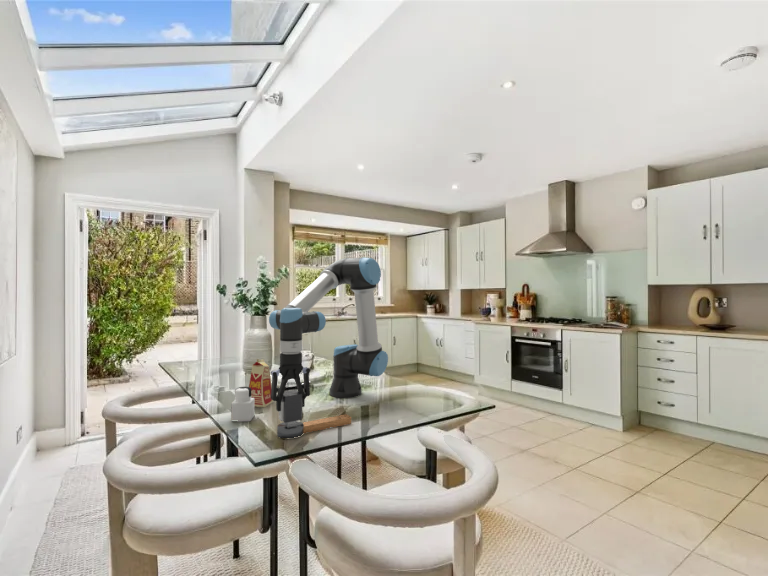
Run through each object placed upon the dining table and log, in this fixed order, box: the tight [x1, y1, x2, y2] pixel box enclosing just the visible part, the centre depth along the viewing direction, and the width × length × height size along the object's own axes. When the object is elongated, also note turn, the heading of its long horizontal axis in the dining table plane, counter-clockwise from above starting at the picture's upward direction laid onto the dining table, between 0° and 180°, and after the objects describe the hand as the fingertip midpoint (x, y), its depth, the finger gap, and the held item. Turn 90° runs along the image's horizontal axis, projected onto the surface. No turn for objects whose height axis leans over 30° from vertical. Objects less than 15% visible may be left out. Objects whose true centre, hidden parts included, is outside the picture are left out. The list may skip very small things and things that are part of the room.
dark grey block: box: [282, 389, 303, 423], centre depth 141 cm, size 6×6×9 cm
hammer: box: [276, 413, 352, 439], centre depth 147 cm, size 28×9×8 cm, turn 123°
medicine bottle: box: [230, 386, 255, 422], centre depth 157 cm, size 7×7×12 cm
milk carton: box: [248, 358, 274, 408], centre depth 176 cm, size 9×9×20 cm
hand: (290, 418), depth 141 cm, fingers closed on dark grey block, 6 cm apart
